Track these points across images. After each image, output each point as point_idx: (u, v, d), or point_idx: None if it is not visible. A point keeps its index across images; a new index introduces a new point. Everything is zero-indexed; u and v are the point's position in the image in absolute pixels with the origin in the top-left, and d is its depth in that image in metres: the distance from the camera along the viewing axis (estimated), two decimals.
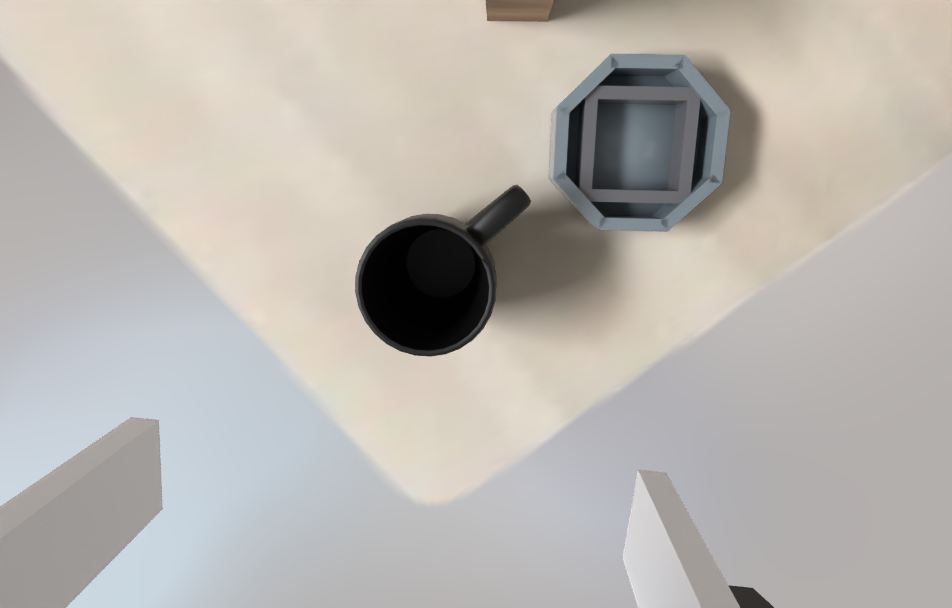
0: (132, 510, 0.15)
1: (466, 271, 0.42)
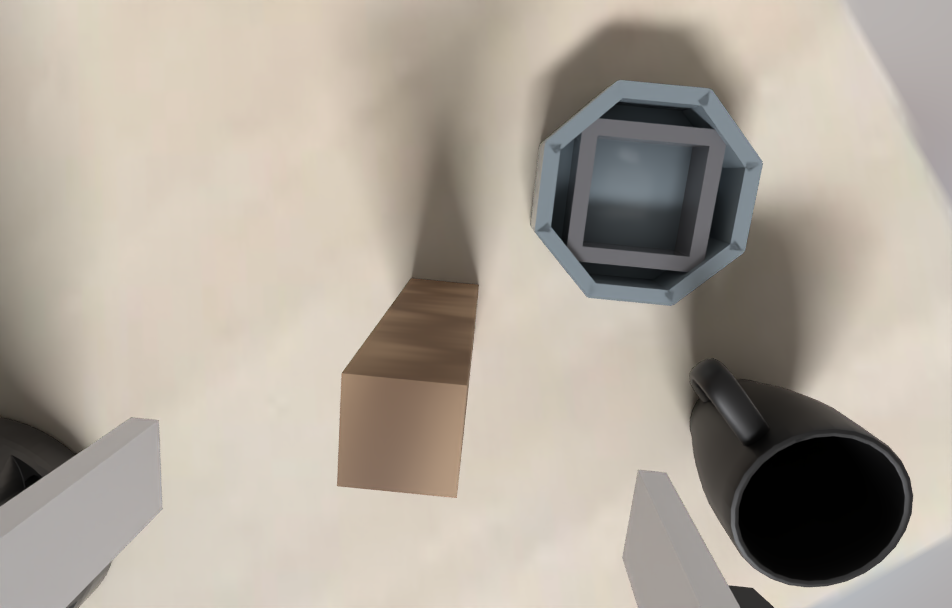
0: (132, 510, 0.15)
1: None
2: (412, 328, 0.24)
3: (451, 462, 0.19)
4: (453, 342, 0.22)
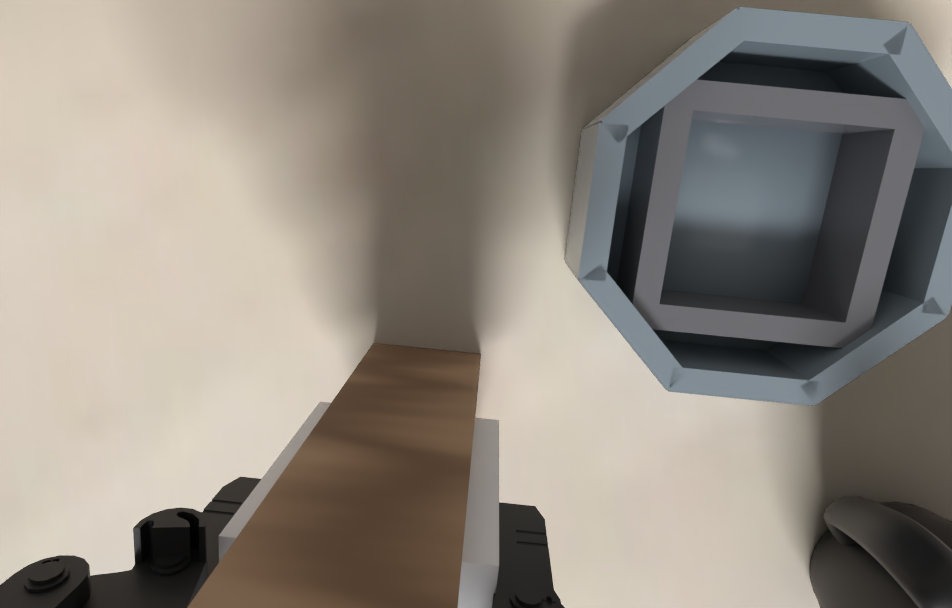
0: None
1: None
2: (337, 508, 0.11)
3: None
4: (420, 561, 0.10)
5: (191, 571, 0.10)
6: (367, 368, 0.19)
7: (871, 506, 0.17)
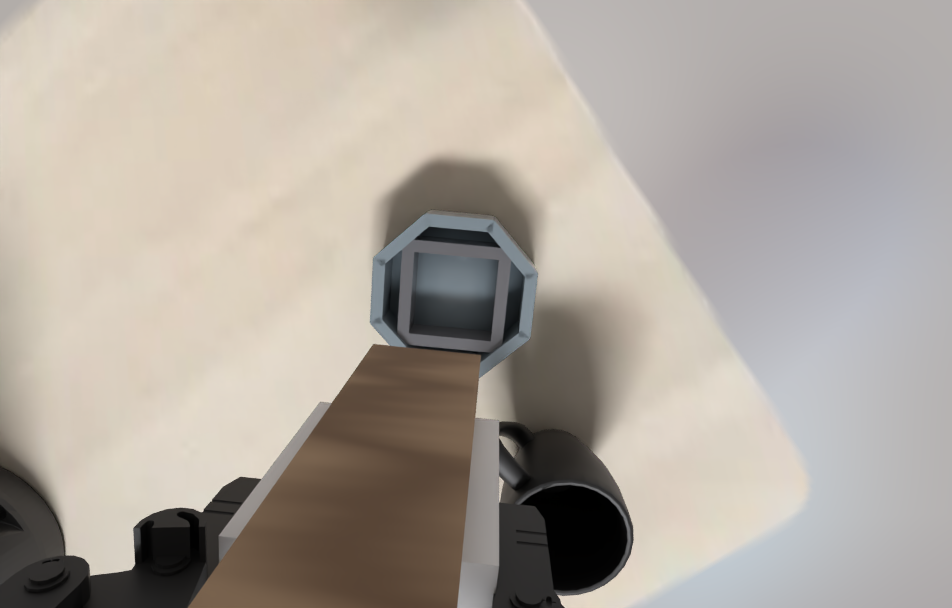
0: None
1: None
2: (336, 510, 0.11)
3: None
4: (419, 564, 0.10)
5: (191, 571, 0.10)
6: (367, 369, 0.19)
7: None
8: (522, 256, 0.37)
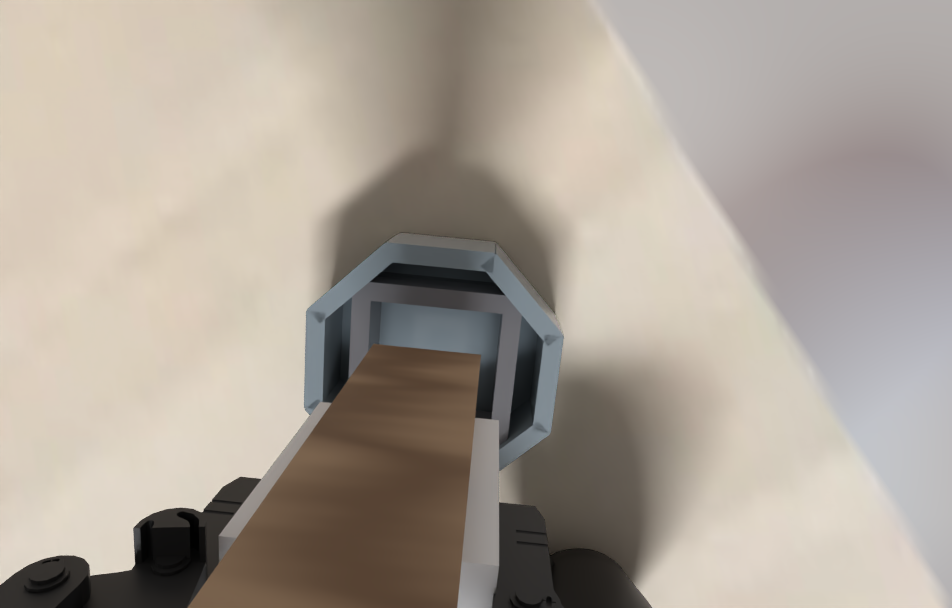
0: None
1: None
2: (337, 509, 0.11)
3: None
4: (419, 563, 0.10)
5: (191, 571, 0.10)
6: (367, 369, 0.19)
7: None
8: (539, 309, 0.24)
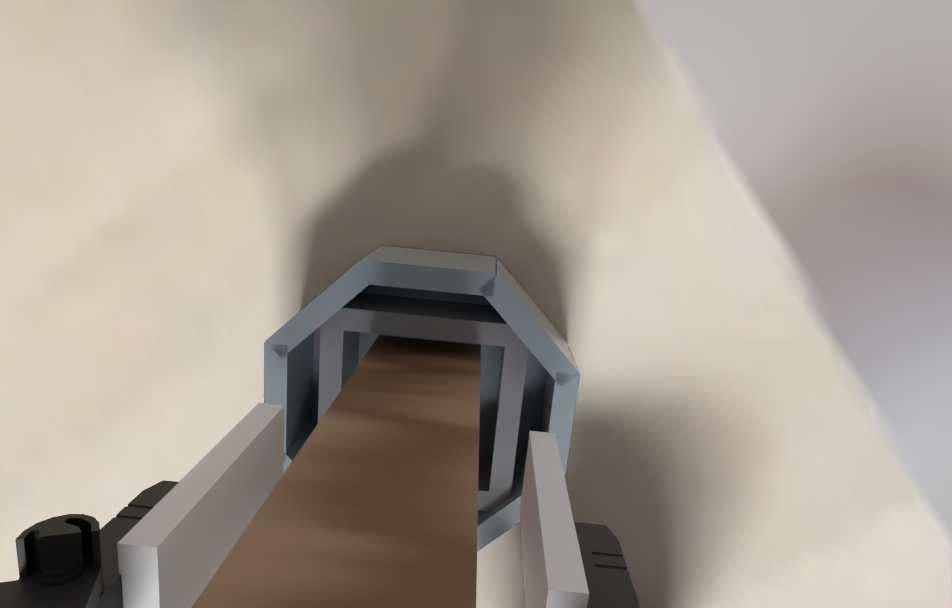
0: (266, 486, 0.16)
1: None
2: (361, 468, 0.12)
3: None
4: (440, 508, 0.11)
5: (85, 577, 0.10)
6: (375, 356, 0.20)
7: None
8: (550, 342, 0.19)
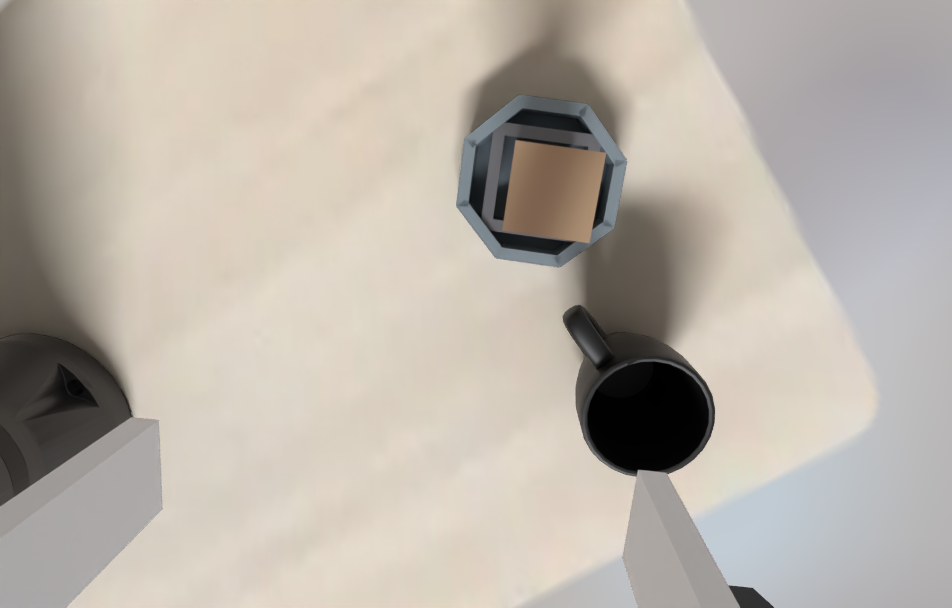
0: (132, 510, 0.15)
1: None
2: None
3: (588, 214, 0.26)
4: None
5: None
6: None
7: None
8: (613, 142, 0.37)
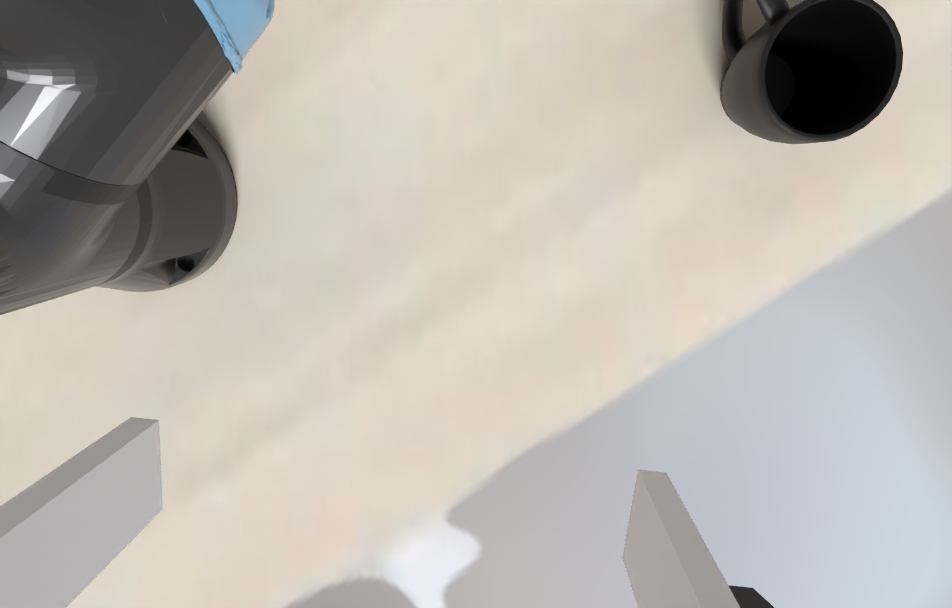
0: (132, 510, 0.15)
1: (771, 62, 0.42)
2: None
3: None
4: None
5: None
6: None
7: None
8: None
